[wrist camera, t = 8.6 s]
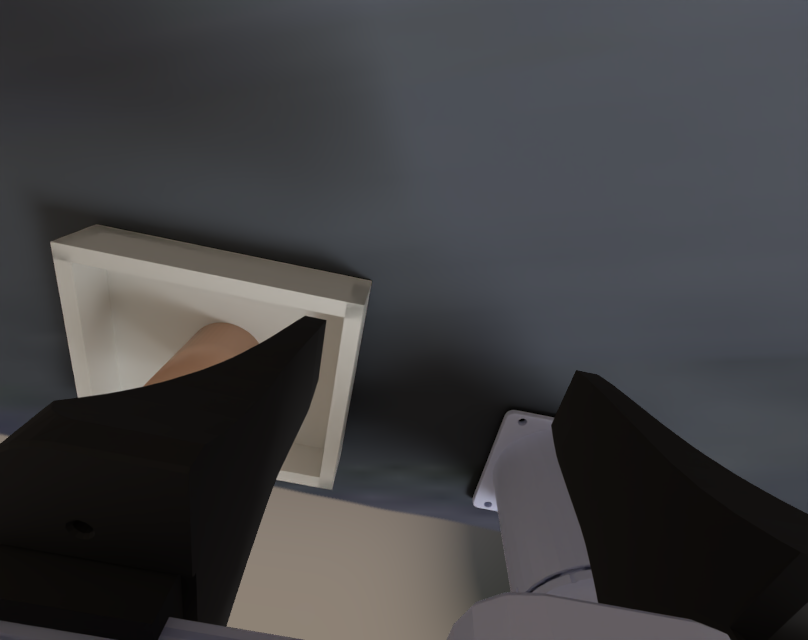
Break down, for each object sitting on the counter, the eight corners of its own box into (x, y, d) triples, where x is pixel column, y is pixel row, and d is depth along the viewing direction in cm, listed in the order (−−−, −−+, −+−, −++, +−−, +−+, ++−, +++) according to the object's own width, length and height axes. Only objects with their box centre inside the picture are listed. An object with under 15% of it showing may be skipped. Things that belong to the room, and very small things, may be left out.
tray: (372, 280, 22) (364, 305, 20) (341, 452, 28) (331, 489, 25) (96, 224, 22) (50, 241, 19) (119, 410, 27) (86, 444, 25)
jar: (269, 335, 23) (215, 414, 17) (258, 392, 25) (206, 483, 19) (194, 313, 23) (114, 387, 17) (188, 373, 25) (113, 459, 19)
